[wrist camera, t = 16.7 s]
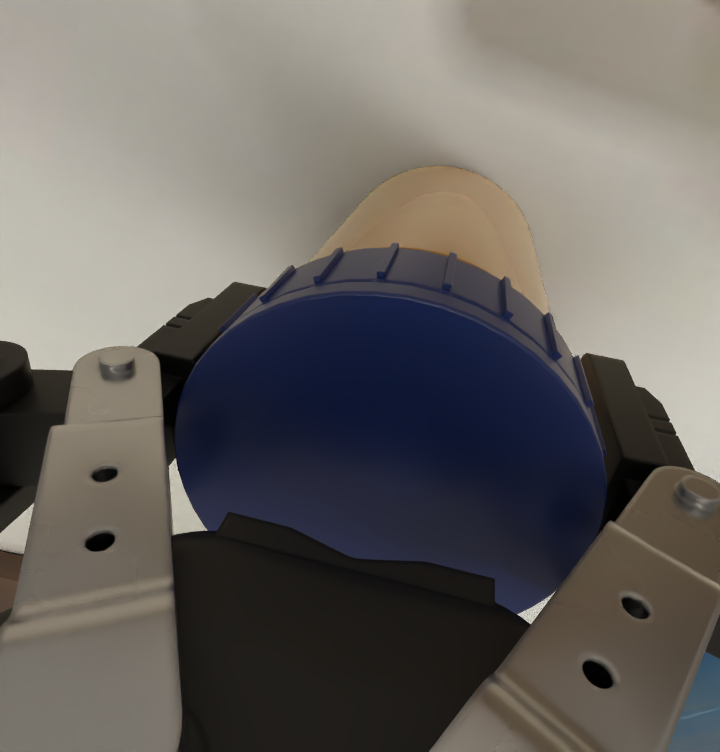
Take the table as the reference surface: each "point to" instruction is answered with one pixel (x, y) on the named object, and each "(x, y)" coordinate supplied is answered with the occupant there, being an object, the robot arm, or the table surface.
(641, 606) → the robot arm
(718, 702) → the perfume bottle
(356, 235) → the jar
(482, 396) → the jar lid
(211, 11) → the table surface
